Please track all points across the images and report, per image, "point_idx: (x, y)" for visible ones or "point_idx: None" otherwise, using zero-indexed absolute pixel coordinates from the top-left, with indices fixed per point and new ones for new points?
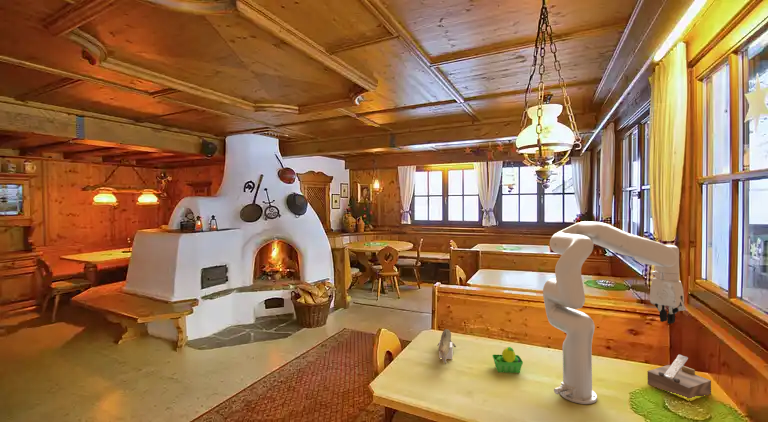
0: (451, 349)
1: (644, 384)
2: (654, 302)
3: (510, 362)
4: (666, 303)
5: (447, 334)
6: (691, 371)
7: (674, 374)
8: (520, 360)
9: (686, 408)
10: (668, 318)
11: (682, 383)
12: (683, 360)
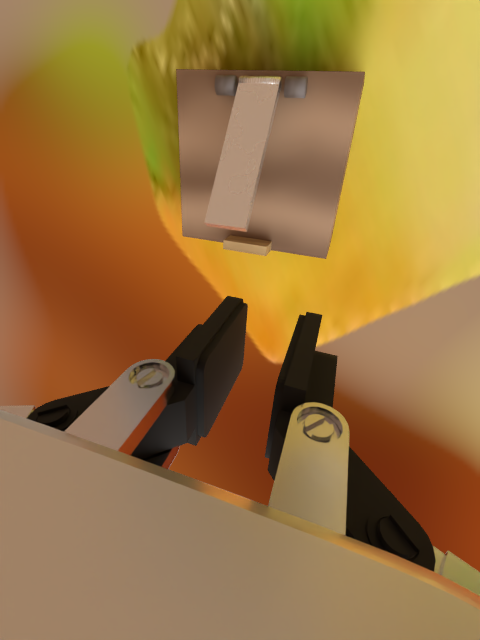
0: None
1: (371, 57)
2: (414, 572)
3: None
4: (9, 489)
5: None
6: (234, 239)
7: (237, 101)
8: None
9: (181, 2)
10: (213, 323)
11: (209, 93)
12: (217, 195)
